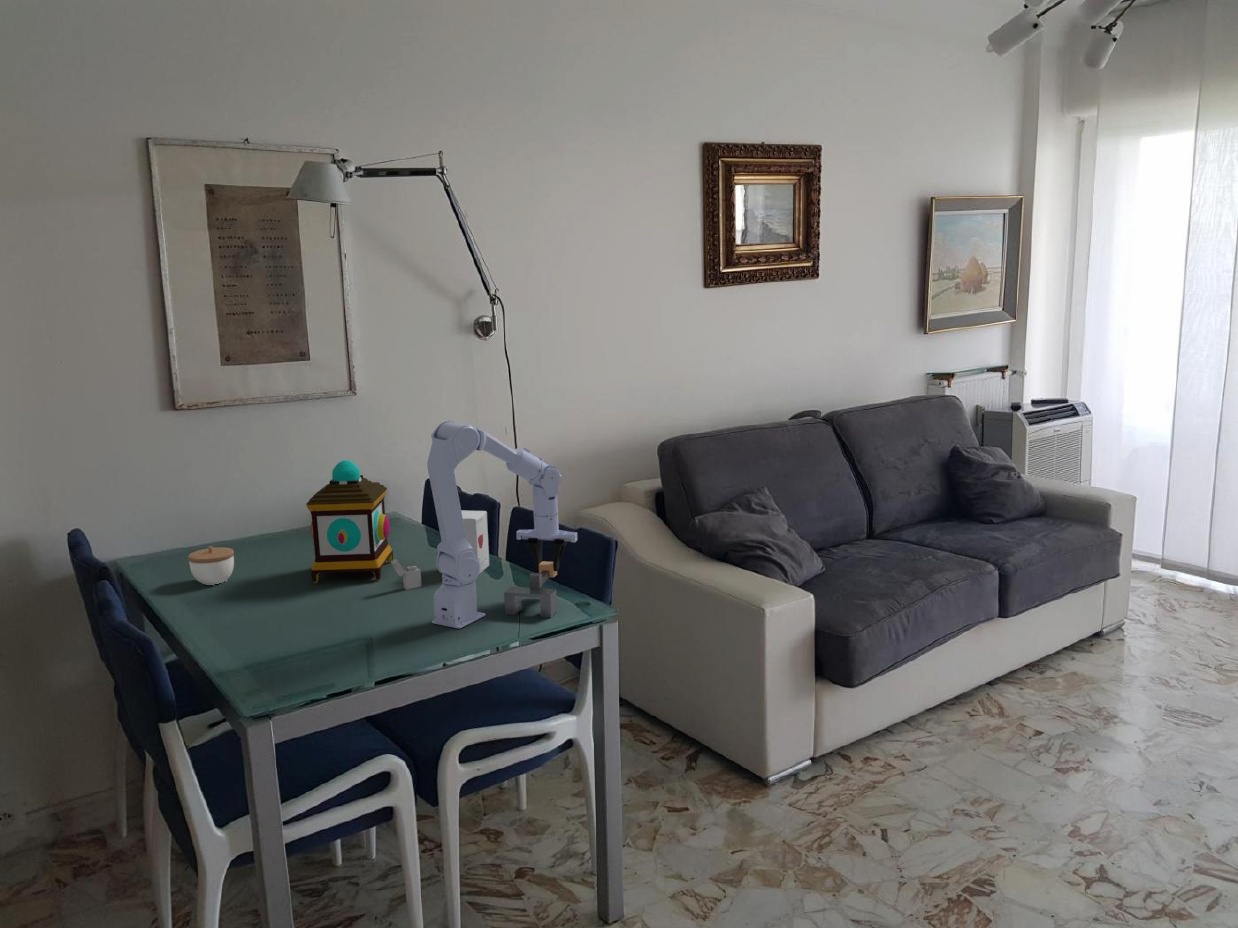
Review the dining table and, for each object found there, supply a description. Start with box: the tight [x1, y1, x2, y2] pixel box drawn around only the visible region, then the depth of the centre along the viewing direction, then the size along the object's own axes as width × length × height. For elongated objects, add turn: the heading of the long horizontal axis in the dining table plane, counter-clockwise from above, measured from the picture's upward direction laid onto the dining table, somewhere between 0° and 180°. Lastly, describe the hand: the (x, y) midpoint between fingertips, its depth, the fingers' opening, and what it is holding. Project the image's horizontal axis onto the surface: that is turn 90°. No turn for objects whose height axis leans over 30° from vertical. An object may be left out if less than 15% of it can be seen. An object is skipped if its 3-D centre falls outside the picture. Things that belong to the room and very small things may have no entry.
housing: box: [503, 586, 558, 619], centre depth 215 cm, size 4×11×5 cm, turn 75°
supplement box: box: [461, 509, 490, 575], centre depth 248 cm, size 9×9×15 cm
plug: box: [529, 560, 558, 588], centre depth 222 cm, size 10×4×3 cm, turn 165°
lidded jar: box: [187, 545, 235, 586], centre depth 243 cm, size 11×11×9 cm
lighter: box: [390, 558, 422, 591], centre depth 234 cm, size 7×2×8 cm, turn 128°
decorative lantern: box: [305, 459, 394, 584], centre depth 246 cm, size 20×20×30 cm
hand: (548, 569), depth 226 cm, fingers closed on plug, 4 cm apart
